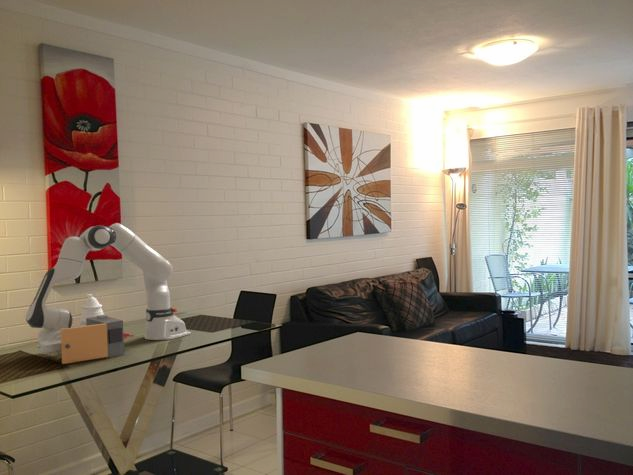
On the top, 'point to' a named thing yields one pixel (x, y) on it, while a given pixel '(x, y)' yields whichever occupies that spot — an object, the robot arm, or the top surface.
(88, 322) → the block
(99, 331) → the side door
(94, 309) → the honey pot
